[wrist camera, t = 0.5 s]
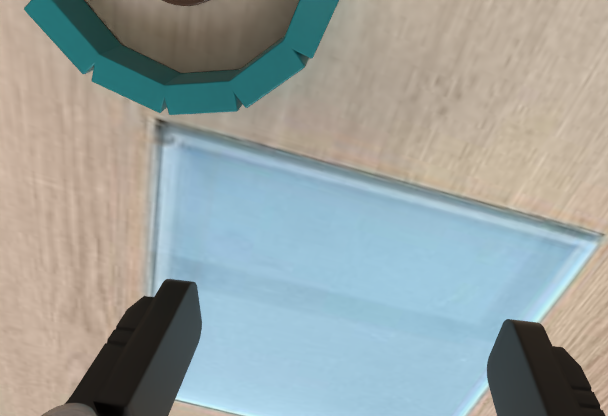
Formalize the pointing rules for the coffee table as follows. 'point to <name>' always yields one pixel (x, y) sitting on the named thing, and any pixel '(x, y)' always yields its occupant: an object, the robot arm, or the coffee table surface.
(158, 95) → the ring
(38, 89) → the coffee table surface
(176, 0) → the peg stand
